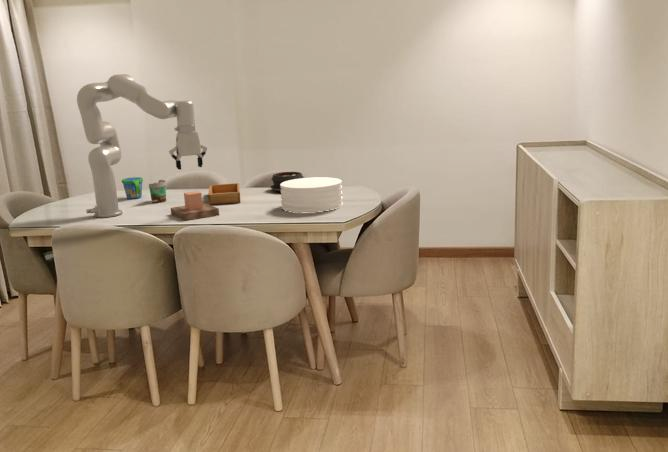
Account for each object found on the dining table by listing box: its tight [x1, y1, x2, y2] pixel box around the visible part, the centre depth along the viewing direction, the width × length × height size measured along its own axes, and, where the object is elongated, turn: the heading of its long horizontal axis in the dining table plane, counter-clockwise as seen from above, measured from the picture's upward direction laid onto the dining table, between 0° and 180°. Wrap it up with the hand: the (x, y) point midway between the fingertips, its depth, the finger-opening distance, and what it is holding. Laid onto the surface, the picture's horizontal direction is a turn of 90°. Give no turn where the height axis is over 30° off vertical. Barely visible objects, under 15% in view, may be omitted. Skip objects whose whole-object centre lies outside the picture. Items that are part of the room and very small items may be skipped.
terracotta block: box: [183, 190, 203, 210], centre depth 312 cm, size 6×6×7 cm
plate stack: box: [280, 176, 344, 212], centre depth 316 cm, size 28×28×12 cm
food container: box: [148, 179, 168, 204], centre depth 348 cm, size 12×6×10 cm, turn 168°
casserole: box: [270, 171, 305, 192], centre depth 364 cm, size 25×19×8 cm
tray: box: [207, 182, 241, 206], centre depth 348 cm, size 31×15×6 cm, turn 8°
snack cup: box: [121, 176, 144, 200], centre depth 362 cm, size 16×10×10 cm
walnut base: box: [170, 202, 220, 221], centre depth 313 cm, size 16×18×3 cm
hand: (189, 168), depth 308 cm, fingers open, 9 cm apart
